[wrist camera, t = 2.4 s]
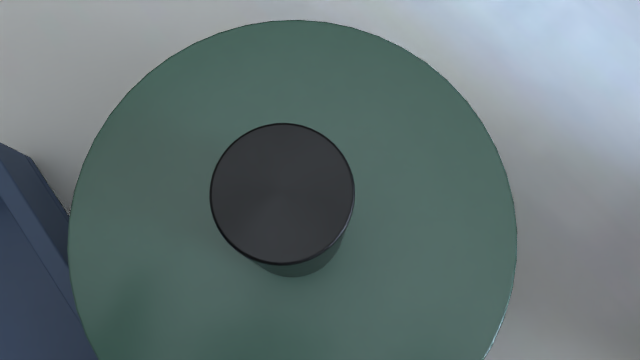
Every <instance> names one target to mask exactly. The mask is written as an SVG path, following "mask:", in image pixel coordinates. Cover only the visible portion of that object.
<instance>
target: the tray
mask: <svg viewBox="0 0 640 360" xmlns="http://www.w3.org/2000/svg"><path fill="white" fill-rule="evenodd" d="M68 226H69V216H68V214H67V213H66V211H65V210H64V208H63V207H62V205H61V204H60V202H59V200H58V199H57V197H56V196H55V194H54V193H53V191H52V190H51V188H50V187H49V185H48V184H47V182H46V180H45V179H44V177H43V176H42V174H41V173H40V171H39V170H38V168H37V167H36V165H35V163H34V162H33V160H32V159H31V158H30V157H28V156H26V155H24V154H22V153H20V152H18V151H16V150H14V149H12V148H10V147H8V146H6V145H4V144H2V143H0V360H98V358H97V356H96V354H95V353H94V351H93V349H92V347H91V345H90V343H89V341H88V339H87V337H86V335H85V332H84V329H83V326H82V324H81V321H80V318H79V316H78V313H77V310H76V306H75V302H74V297H73V293H72V288H71V283H70V277H69V265H68V253H67V246H68Z"/></svg>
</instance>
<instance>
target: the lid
mask: <svg viewBox="0 0 640 360" xmlns="http://www.w3.org/2000/svg"><path fill="white" fill-rule="evenodd" d="M67 253H68V265H69V277H70V283H71V288H72V293H73V297H74V302H75V306H76V310H77V313H78V316H79V318H80V321H81V324H82V326H83V329H84V332H85V335H86V337H87V339H88V341H89V343H90V345H91V347H92V349H93V351H94V353H95V354H96V356H97V358H98V360H484V359H485V357H486V355H487V354H488V352H489V351H490V349H491V347H492V345H493V343H494V341H495V338H496V336H497V334H498V331H499V329H500V327H501V325H502V322H503V320H504V317H505V314H506V310H507V307H508V303H509V300H510V296H511V293H512V289H513V282H514V275H515V268H516V261H517V226H516V218H515V209H514V202H513V198H512V194H511V190H510V186H509V182H508V178H507V174H506V171H505V169H504V166H503V164H502V161H501V159H500V156H499V154H498V151H497V148H496V146H495V145H494V143H493V141H492V139H491V137H490V136H489V134H488V132H487V130H486V128H485V126H484V125H483V123H482V122H481V120H480V119H479V117H478V116H477V115H476V113H475V112H474V111H473V109H472V108H471V106H470V105H469V104H468V102H467V101H466V100H465V99H464V98H463V97H462V95H461V94H460V93H459V92H458V91H457V90H456V89H455V88H454V87H453V86H452V85H451V84H450V83H449V82H448V81H447V80H446V79H445V78H444V77H443V76H441V75H440V74H439V73H438V72H437V71H435V70H434V69H433V68H432V67H431V66H429V65H428V64H427V63H426V62H424V61H423V60H421V59H419V58H418V57H416V56H415V55H413V54H412V53H410V52H408V51H407V50H405V49H404V48H402V47H400V46H398V45H396V44H394V43H391V42H389V41H387V40H385V39H383V38H381V37H379V36H376V35H373V34H370V33H367V32H364V31H361V30H358V29H355V28H352V27H347V26H342V25H337V24H332V23H328V22H317V21H305V20H287V21H269V22H263V23H257V24H251V25H245V26H241V27H238V28H234V29H231V30H227V31H224V32H220V33H218V34H215V35H213V36H210V37H208V38H206V39H203V40H201V41H199V42H196V43H194V44H192V45H190V46H189V47H187V48H185V49H183V50H182V51H180V52H178V53H176V54H175V55H173V56H171V57H170V58H168V59H167V60H166V61H164V62H163V63H161V64H160V65H159V66H157V67H156V68H155V69H153V70H152V71H151V72H149V73H148V74H147V75H146V76H145V77H144V78H143V79H142V80H141V81H140V82H139V83H138V84H137V85H135V86H134V87H133V88H132V89H131V90H130V91H129V92H128V93H127V94H126V96H125V97H124V98H123V99H122V100H121V102H120V103H119V104H118V105H117V107H116V108H115V109H114V110H113V111H112V113H111V114H110V115H109V117H108V118H107V120H106V122H105V123H104V125H103V126H102V128H101V130H100V131H99V133H98V134H97V136H96V138H95V139H94V141H93V144H92V146H91V148H90V150H89V152H88V154H87V157H86V159H85V161H84V163H83V165H82V168H81V172H80V175H79V178H78V181H77V184H76V187H75V190H74V195H73V200H72V206H71V211H70V217H69V226H68V246H67Z"/></svg>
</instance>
